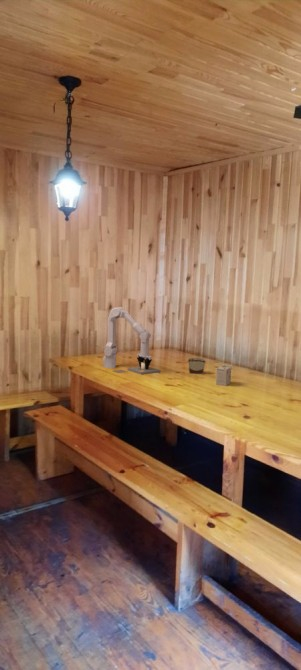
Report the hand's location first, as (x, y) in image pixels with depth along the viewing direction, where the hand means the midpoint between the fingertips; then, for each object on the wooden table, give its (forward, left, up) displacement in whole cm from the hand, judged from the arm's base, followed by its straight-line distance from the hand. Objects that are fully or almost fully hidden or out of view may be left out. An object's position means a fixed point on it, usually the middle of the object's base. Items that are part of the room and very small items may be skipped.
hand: (144, 368), depth 334 cm
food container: (+18, +32, -3) cm, 37 cm away
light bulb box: (+51, +25, -3) cm, 57 cm away
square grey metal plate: (-7, -15, -3) cm, 17 cm away
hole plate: (0, 0, -3) cm, 3 cm away
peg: (0, 0, -3) cm, 3 cm away
